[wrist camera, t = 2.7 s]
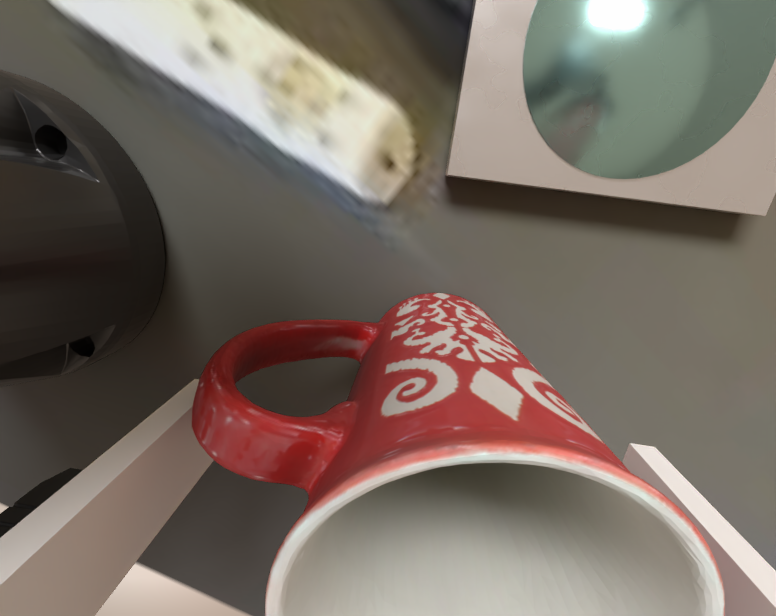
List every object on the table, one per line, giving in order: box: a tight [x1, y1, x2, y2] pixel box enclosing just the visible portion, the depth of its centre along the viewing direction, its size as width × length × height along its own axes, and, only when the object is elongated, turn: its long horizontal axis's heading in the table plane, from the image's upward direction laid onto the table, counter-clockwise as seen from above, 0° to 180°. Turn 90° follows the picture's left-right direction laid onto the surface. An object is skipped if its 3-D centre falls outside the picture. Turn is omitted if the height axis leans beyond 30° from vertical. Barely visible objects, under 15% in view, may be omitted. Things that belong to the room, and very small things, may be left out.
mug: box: [192, 293, 725, 616], centre depth 13 cm, size 13×9×14 cm
